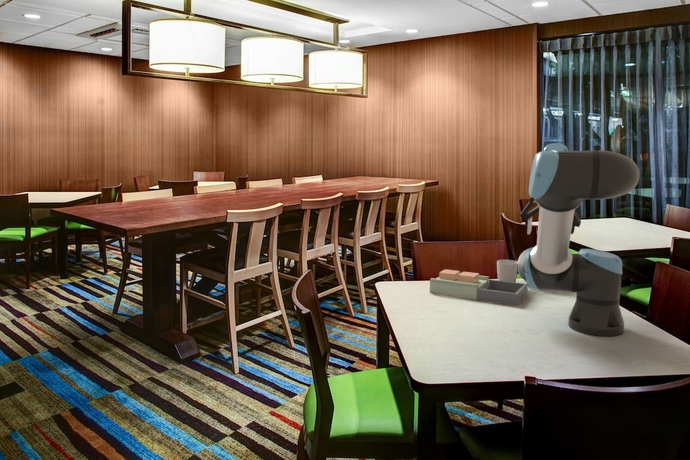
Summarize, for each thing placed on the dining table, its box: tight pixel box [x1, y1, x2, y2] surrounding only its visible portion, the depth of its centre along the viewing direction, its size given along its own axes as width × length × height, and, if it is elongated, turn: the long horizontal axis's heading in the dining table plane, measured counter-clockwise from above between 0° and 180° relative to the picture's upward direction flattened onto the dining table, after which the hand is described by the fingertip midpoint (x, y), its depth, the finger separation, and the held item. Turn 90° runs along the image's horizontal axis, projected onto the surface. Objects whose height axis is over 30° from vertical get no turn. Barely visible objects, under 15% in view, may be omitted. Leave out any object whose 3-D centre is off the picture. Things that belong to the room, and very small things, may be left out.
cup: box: [496, 259, 519, 283], centre depth 203 cm, size 8×8×10 cm
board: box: [429, 272, 490, 300], centre depth 198 cm, size 15×18×5 cm
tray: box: [476, 278, 528, 306], centre depth 189 cm, size 16×14×4 cm
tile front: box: [458, 271, 480, 284], centre depth 195 cm, size 6×6×3 cm
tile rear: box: [438, 269, 461, 281], centre depth 199 cm, size 6×6×3 cm
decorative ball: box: [517, 246, 535, 282], centre depth 206 cm, size 15×15×15 cm
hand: (548, 236), depth 189 cm, fingers open, 13 cm apart
